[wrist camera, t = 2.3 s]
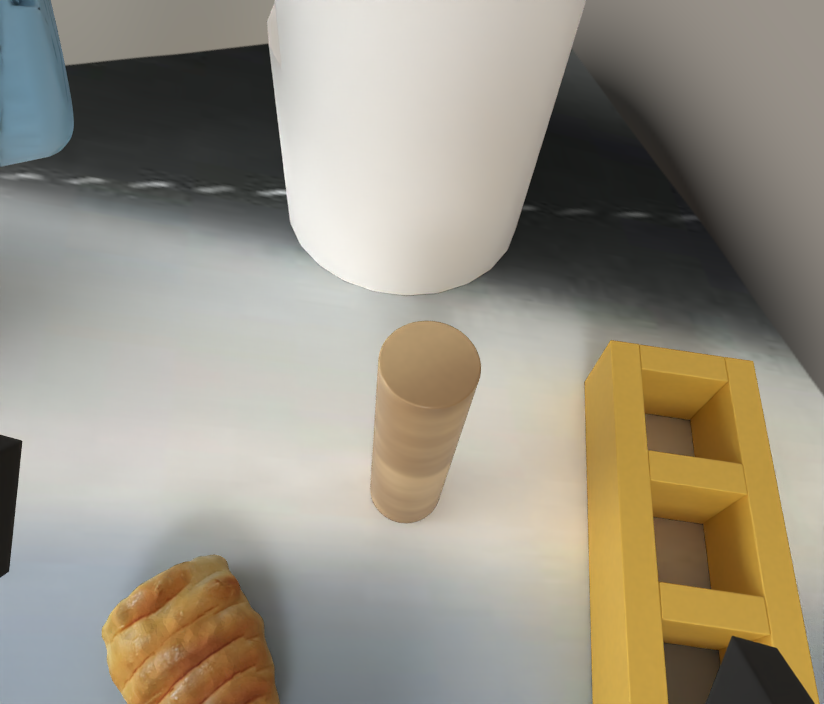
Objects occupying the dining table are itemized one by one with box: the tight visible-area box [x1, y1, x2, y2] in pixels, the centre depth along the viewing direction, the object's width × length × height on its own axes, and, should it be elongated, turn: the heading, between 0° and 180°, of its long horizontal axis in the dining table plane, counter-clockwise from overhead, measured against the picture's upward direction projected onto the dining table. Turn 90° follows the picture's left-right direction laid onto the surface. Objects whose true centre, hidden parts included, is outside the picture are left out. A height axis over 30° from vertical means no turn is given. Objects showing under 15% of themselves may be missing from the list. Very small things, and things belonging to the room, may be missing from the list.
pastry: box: [102, 555, 280, 704], centre depth 29 cm, size 9×7×4 cm
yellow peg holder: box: [585, 340, 820, 704], centre depth 33 cm, size 8×22×5 cm, turn 173°
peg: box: [370, 321, 481, 523], centre depth 31 cm, size 4×4×14 cm
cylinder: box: [267, 0, 586, 296], centre depth 37 cm, size 17×17×28 cm
